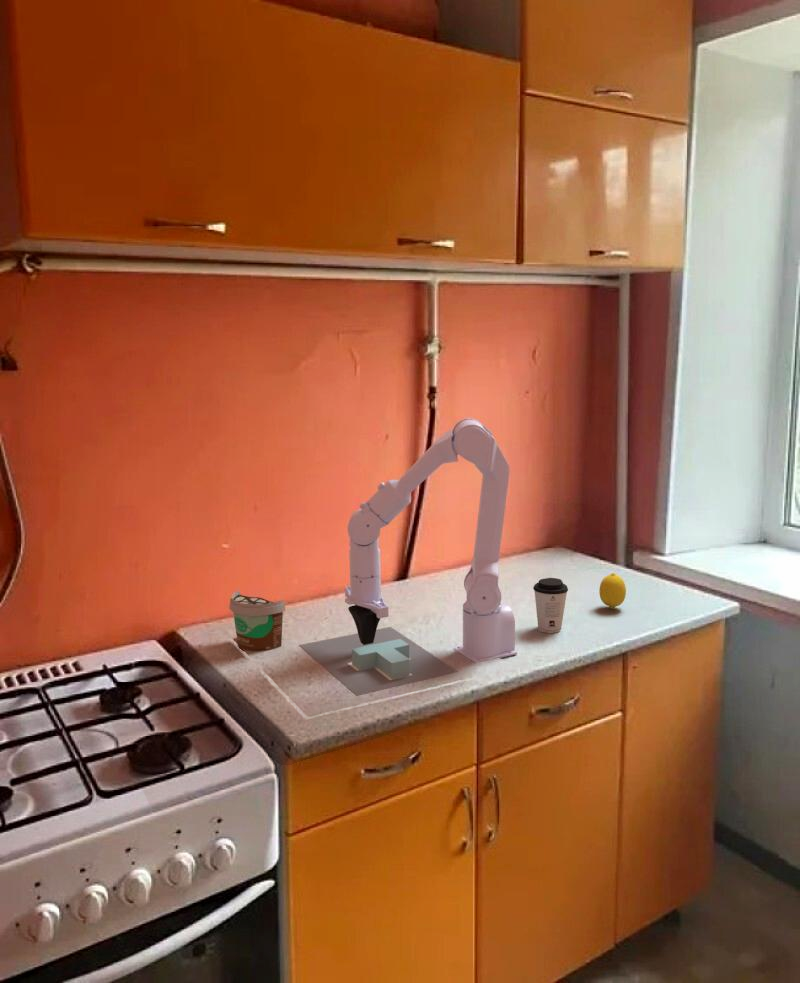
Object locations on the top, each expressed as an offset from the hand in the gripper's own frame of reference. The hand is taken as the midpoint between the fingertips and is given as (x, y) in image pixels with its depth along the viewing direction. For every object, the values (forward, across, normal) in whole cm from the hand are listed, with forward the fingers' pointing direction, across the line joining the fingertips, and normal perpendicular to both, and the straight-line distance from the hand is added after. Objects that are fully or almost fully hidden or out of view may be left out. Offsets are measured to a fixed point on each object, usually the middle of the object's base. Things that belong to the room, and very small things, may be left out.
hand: (367, 642), depth 167 cm
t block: (+2, +9, 0) cm, 9 cm away
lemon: (+3, +4, +57) cm, 57 cm away
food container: (+2, -14, -18) cm, 23 cm away
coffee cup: (+3, +6, +38) cm, 39 cm away
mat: (+2, +4, 0) cm, 4 cm away
